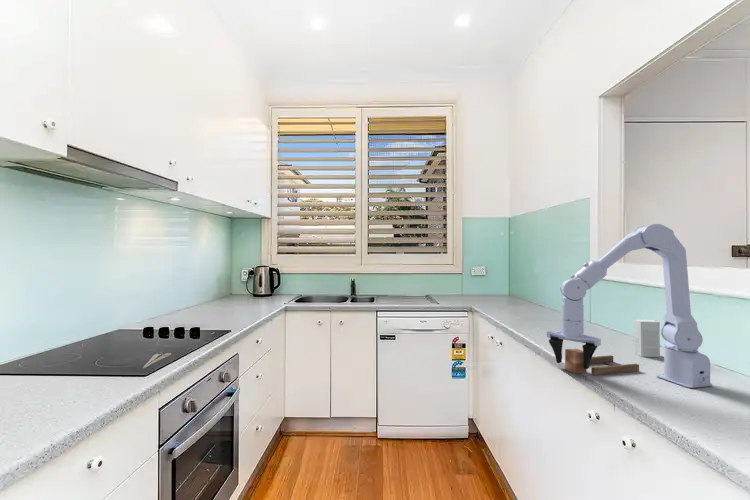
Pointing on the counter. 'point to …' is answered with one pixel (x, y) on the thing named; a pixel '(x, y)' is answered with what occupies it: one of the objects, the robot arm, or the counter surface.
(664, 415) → the counter surface
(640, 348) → the skincare box
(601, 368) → the walnut channel
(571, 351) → the terracotta block
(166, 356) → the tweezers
